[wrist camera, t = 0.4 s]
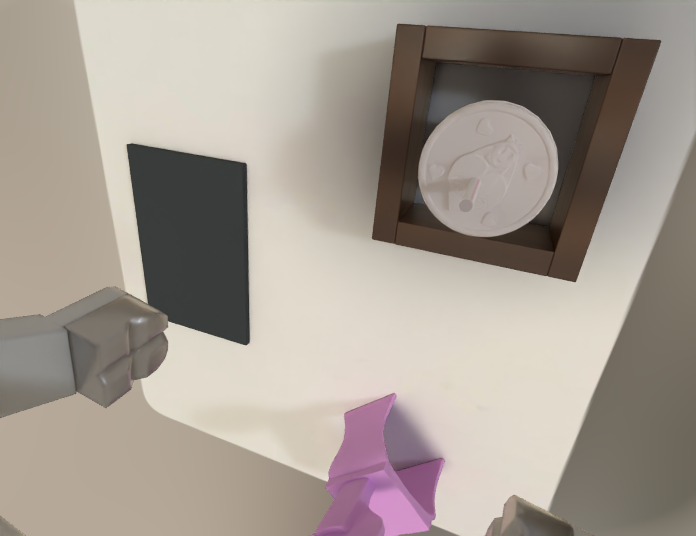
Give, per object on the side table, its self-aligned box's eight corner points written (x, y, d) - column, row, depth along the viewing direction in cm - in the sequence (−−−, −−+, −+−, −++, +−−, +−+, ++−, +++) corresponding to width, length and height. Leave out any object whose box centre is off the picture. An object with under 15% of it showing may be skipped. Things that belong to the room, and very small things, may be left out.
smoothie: (426, 151, 30) (363, 198, 18) (494, 72, 27) (475, 64, 15) (493, 212, 30) (476, 301, 18) (570, 141, 27) (613, 190, 15)
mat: (131, 143, 39) (126, 144, 38) (246, 163, 35) (242, 164, 35) (153, 313, 46) (149, 315, 46) (249, 342, 43) (246, 345, 42)
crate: (415, 32, 27) (396, 23, 23) (636, 47, 24) (662, 40, 20) (390, 218, 33) (371, 239, 28) (567, 253, 29) (575, 282, 25)
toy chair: (387, 481, 44) (333, 649, 31) (337, 416, 43) (258, 561, 30) (457, 462, 40) (428, 646, 27) (403, 389, 39) (345, 544, 26)
